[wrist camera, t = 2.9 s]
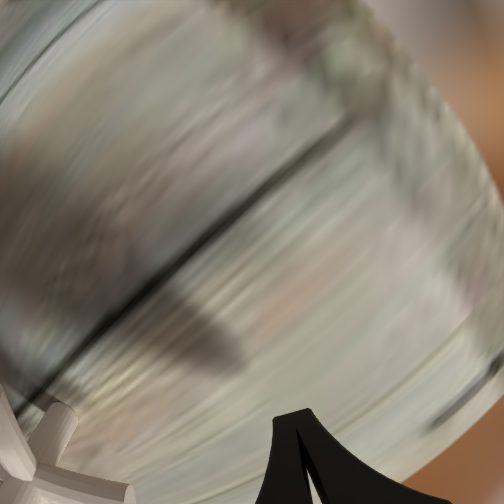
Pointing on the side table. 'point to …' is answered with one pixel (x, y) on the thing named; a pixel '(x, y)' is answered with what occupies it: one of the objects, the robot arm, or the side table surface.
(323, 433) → the robot arm
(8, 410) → the pipe connector
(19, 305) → the side table surface
